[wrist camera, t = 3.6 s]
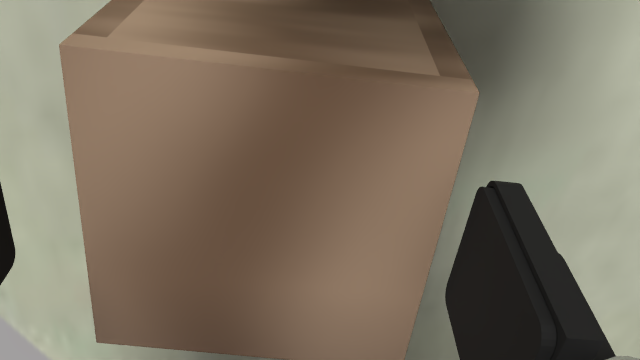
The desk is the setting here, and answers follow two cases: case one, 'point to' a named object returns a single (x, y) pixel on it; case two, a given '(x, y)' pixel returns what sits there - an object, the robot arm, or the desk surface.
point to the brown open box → (264, 171)
